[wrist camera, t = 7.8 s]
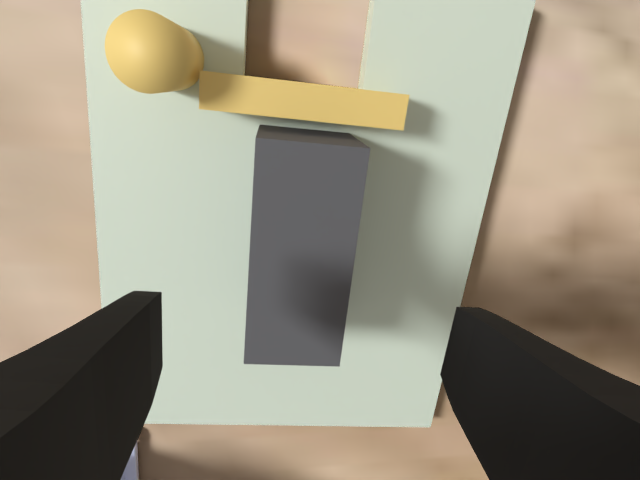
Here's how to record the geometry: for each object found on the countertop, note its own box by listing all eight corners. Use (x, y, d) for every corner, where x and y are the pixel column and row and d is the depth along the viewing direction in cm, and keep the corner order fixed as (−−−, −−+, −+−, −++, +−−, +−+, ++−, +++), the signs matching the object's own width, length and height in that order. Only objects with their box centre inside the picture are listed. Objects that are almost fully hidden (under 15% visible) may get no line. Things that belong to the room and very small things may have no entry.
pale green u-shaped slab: (424, 413, 24) (456, 485, 20) (116, 408, 22) (78, 487, 17) (521, 3, 17) (602, -21, 13) (88, -61, 15) (15, -116, 11)
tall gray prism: (327, 312, 20) (339, 366, 16) (249, 308, 19) (243, 364, 16) (349, 133, 17) (370, 148, 13) (259, 124, 17) (255, 137, 13)
